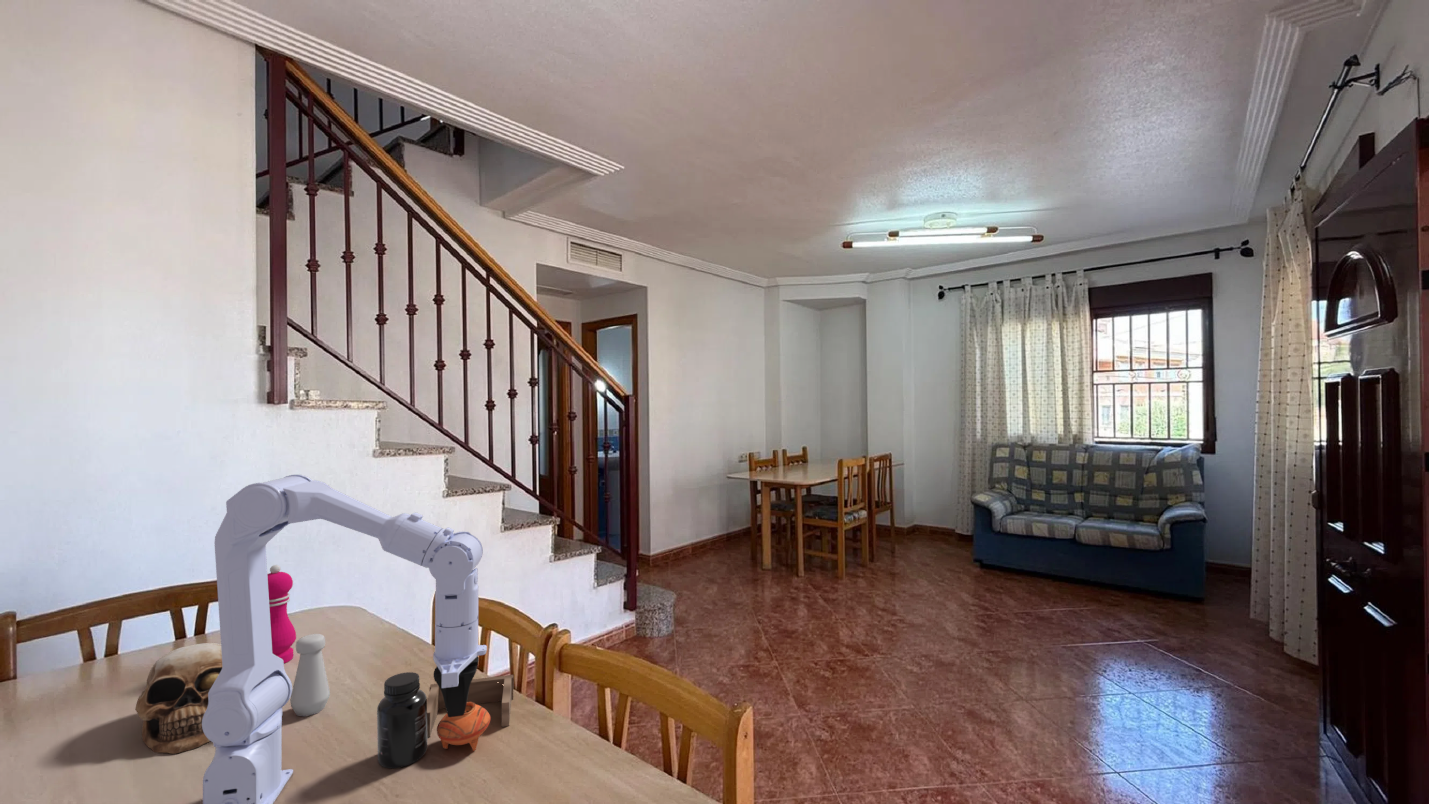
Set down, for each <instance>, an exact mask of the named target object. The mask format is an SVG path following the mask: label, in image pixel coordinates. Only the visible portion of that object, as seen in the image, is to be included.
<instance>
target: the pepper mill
mask: <svg viewBox="0 0 1429 804" xmlns="http://www.w3.org/2000/svg"><path fill="white" fill-rule="evenodd" d="M269 572H270V573H269ZM269 572H268V573H267V576H268V592H269V608H270V624H271V639H272V653H273V654H274V655H276V656H278V657H279V658H281V659H283V662H284V664H287V663H289V662H290V661H292V659H293V658H294V648H293V647H292V646H293V645H294V643H296V640H297V631H296V629H295V626H294V624H293V623H292V621H291V620H290V617H289V614H288V603H289V602H290V601H291V594H290V593H289V592H290V591H291V589H292V588H293V585H294V583H293V582H294V581H293V578H292V576H291V574H289V573H287V572H284V571H281V566H280V565H278V564H273V565H272V566H271V567H270V568H269Z"/></svg>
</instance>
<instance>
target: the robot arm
mask: <svg viewBox="0 0 1429 804" xmlns="http://www.w3.org/2000/svg"><path fill="white" fill-rule="evenodd" d="M225 506H226V514H225V516H224V518H223V519H222V522H221V524H220V525H219V527H218V529H217V531H216V534H215V535H214V555H215V556H214V557H215V568H216V569H215V571H216V573H215V574H216V586H217V602H218V615H219V617H218V618H219V619H218V620H219V632H220V633H219V635H220V644H221V651H222V666H223V667H222V670H221V672H220V674H219V675H218V677H217V679H216V680H215V682H214V684H213V685H212V687H211V689H210V691H209V693H208V707H207V710H206V712H205V714H204V716H203V719H202V729H203V732H204V734H205V736H206V737H207V738H208V739H209V740H210V742H212V743H213V747H215V751H214V756H213V758H212V760H211V762H210V763H209V765H208V767H207V768H206V770H205V772H204V774H203V777H202V779H203V780H202V804H274V803H275V801H276V800H277V798H278V796H279V795H280V794H281V792H282V790H283V789H284V787H285V786H286V784H287V783H288V781H289V779H290V778H291V777H292V775H293V773H294V769H293V768H289V769H282V763H283V762H282V761H283V759H282V756H283V755H282V754H283V753H282V749H283V748H282V745H283V744H282V740H283V739H282V732H283V731H282V726H283V725H282V724H283V722H282V721H283V720H282V719H283V718H282V716H283V707H285V706H286V705H287V703H288V702H289V700H290V698H291V694H292V690H293V683H292V680H291V678H289V677H290V676H288V674H287V672H286V670H285V663H284V662H283V659H281V658H279V657H278V656H276V655H274V654H273V653H272V639H271V624H270V608H269V592H268V576H267V574H268V562H267V551H266V550H267V547H266V546H267V544H268V543H269V542H270V541H271V540H272V539H273V538H275V536H277V535H278V533H280V532H281V531H282V530H284V528H286V527H287V526H288V525H291V524H296V523H303V522H309V521H314V520H315V521H316V520H323V521H327V522H328V523H329V522H330V523H333V524H336V525H339V526H341V527H344V528H348V529H350V530H353V531H355V532H358V533H362V534H363V535H367V536H370V537H373V538H376V539H378V541H379V543H380V546H381V548H382V550H383V552H386V553H389V554H391V555H393V556H396V557H398V558H401V559H403V560H406V561H408V562H411V563H412V564H413V563H414V564H416V565H418V566H420V567H423V568H425V569H427V568H428V570H429V572H430V574H431V576H432V577H433V578H434V579H435V591H434V595H435V596H434V597H435V598H434V599H435V600H434V602H435V603H434V605H435V607H434V609H435V610H434V612H435V613H434V652H433V661H434V664H435V665H436V667H435V668H434V671H433V680H434V681H435V684H438V686H439V687H440V690H441V692H442V695H443V698H444V702H445V707H446V708H445V710H446V714H448V717H455V716H463V715H464V712H465V708H466V704H467V699H468V693H469V687H470V684H471V681H472V679H474V677H475V675H476V672H477V670H478V665H479V656H485V655H486V654H487V650H488V646H487V645H486V644H483V645H482V644H479V580H478V579H479V577H478V574H479V573H478V572H479V570H478V568H477V566H478V565H479V563H480V562H481V559H482V558H483V555H484V554H483V553H484V551H483V546H482V543H481V541H480V540H479V539H478V537H476V536H475V535H473V534H471V532H469V531H466V530H464V531H463V530H462V531H457V532H454V530H455V529H454V528H452V527H446V528H443V527H441V526H438V525H436V524H434V523H431V522H429V521H426V520H424V519H423V517H424V516H423V514H421V513H418V512H415V511H414V512H413V513H411V514H409V513H406V512H404V513H400V514H397V515H395V516H392V515H389V514H387V513H385V512H383V511H381V510H379V509H377V508H375V507H372V506H371V505H368V504H366V503H364V502H362V501H361V500H358V499H356V498H354V497H351V496H350V495H347V494H345V493H343V492H341V491H339V490H337V489H335V488H332V487H331V486H330V485H329V484H327V483H326V482H324V481H322V480H321V481H320V480H317V479H314V480H313V479H312V478H310V477H308V476H306V475H302V474H291V475H286V476H284V477H282V478H277V479H273V480H270V481H269V480H268V481H264V482H255V483H251V484H248V485H246V486H245V487H243V488H241V489H240V490H239V491H237V493H234V495H232V496H231V497H230V498H229V499H227V500H226V502H225Z"/></svg>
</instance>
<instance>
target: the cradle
mask: <svg viewBox="0 0 1429 804" xmlns="http://www.w3.org/2000/svg"><path fill="white" fill-rule="evenodd" d="M497 682H499V683H497ZM502 684H504V686H503V685H502ZM512 700H514V674H507V675H499V676H490V677H482V678H475V679H474V678H473V679H472V681H471V684H470V687H469V693H468V699H467V702H473V703H475V704H476V705H479V704H487V703H496V702H501V727H502V728H503V727H509V726H510V721H511V719H510V718H511V709H512ZM441 709H442V710H443V709H446V707H445V702H444V698H443V695H442V692H441V690H440V687H439V686H438V684H437V683H432V684H430V685H429V693H428V695H427V738H431V734H432V731H433V728H434V725H435V722H436V719H437V716H438V712H439V710H441Z"/></svg>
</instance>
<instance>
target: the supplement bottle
mask: <svg viewBox="0 0 1429 804" xmlns="http://www.w3.org/2000/svg"><path fill="white" fill-rule="evenodd" d="M383 683H384V684H383V686H384V688H383V695H384V697H383V698H382V699H381V700H380V701H379V703H378V704H377V708H376V723H377V727H376V730H377V733H376V734H377V736H376V738H377V741H376V742H377V761H378V763H379V765H380V766H381V767H383V768H387V769H398V768H403V767H406V766H409V765H412V764H414V763H416V762H417V761H419V760H420V759H421V758H422V757H423V756H424V755H425V754H426V752H427V749H428V737H427V698H428V696H427V695H426V693H425V691H423V690H422V689H421V683H420V675H419V673H416V672H412V671H411V672H410V671H409V672H407V671H406V672H401V673H396V674H393V675H391V676H390V677H388V678H387V679H385V681H384V682H383Z"/></svg>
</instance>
